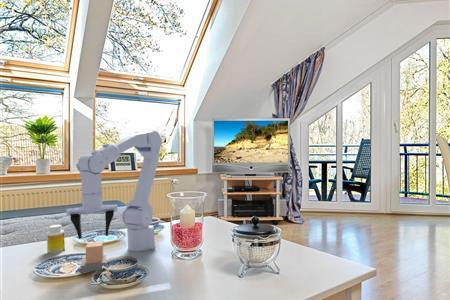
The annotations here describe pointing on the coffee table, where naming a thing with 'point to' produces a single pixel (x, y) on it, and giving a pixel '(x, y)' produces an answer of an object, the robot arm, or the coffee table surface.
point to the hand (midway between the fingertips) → (93, 236)
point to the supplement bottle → (55, 239)
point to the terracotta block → (94, 252)
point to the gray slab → (92, 265)
